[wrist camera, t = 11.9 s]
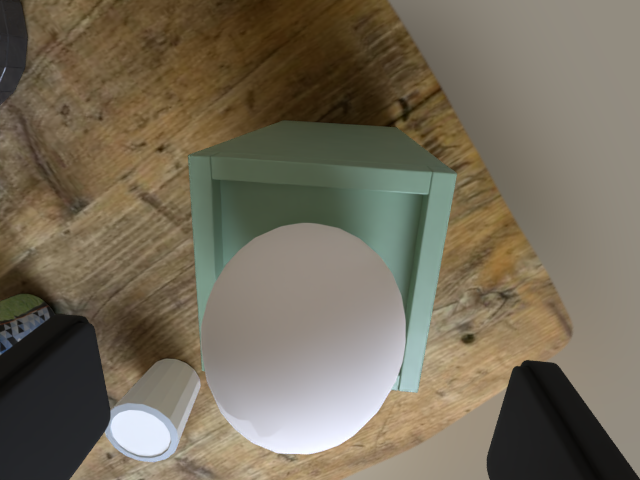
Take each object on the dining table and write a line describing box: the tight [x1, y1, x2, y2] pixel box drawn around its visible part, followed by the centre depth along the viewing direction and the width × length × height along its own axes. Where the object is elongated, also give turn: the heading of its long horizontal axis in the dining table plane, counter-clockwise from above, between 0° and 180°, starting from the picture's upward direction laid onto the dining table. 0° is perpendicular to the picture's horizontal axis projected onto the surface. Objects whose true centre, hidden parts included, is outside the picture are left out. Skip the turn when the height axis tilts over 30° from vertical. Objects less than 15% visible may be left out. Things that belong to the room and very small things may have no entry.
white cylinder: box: [105, 359, 201, 462], centre depth 38 cm, size 7×7×7 cm
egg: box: [201, 223, 406, 454], centre depth 12 cm, size 6×6×8 cm
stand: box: [188, 120, 457, 393], centre depth 23 cm, size 9×9×19 cm
